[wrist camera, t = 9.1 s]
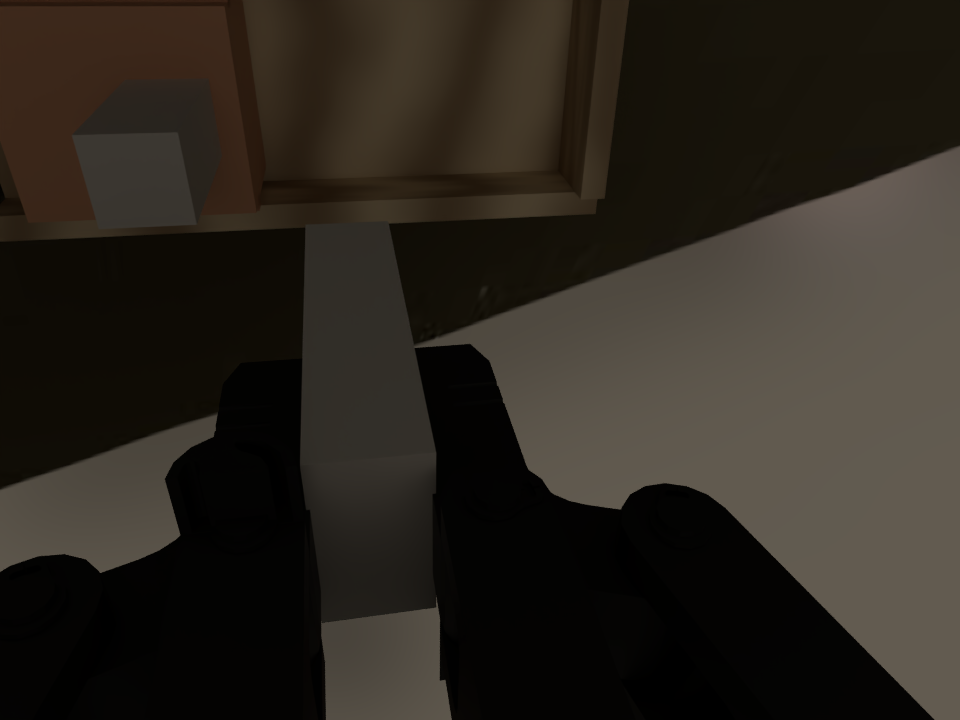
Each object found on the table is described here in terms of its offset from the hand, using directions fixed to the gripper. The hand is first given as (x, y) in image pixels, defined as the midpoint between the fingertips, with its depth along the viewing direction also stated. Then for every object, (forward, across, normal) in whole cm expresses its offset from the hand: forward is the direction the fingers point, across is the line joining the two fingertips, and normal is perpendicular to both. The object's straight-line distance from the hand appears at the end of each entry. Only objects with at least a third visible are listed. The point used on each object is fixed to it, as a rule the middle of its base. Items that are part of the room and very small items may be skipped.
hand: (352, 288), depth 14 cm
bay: (+25, -4, -2) cm, 25 cm away
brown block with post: (+24, -8, -2) cm, 25 cm away
